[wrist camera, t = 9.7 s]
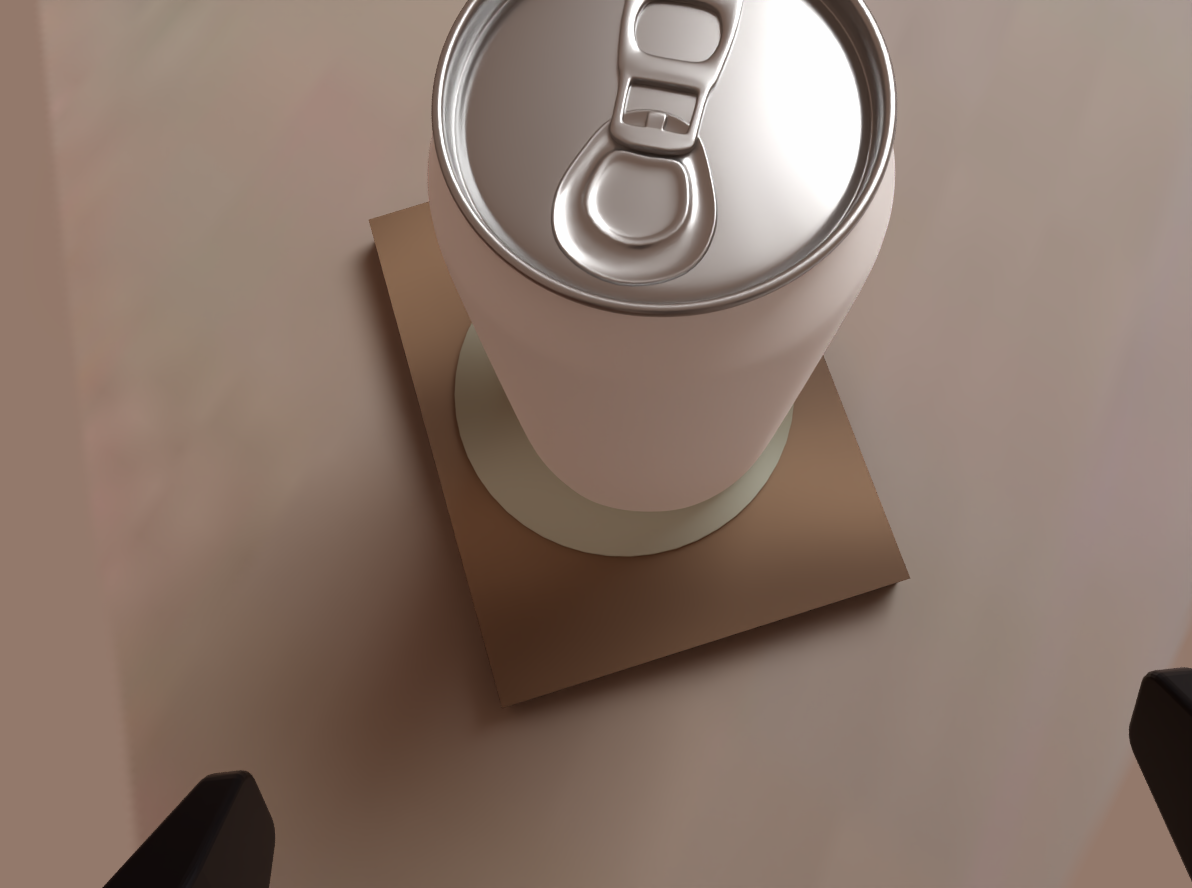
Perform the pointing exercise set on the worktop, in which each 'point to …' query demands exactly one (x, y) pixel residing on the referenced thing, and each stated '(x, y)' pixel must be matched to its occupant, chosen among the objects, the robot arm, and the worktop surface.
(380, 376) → the worktop surface
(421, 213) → the coaster board
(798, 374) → the can
